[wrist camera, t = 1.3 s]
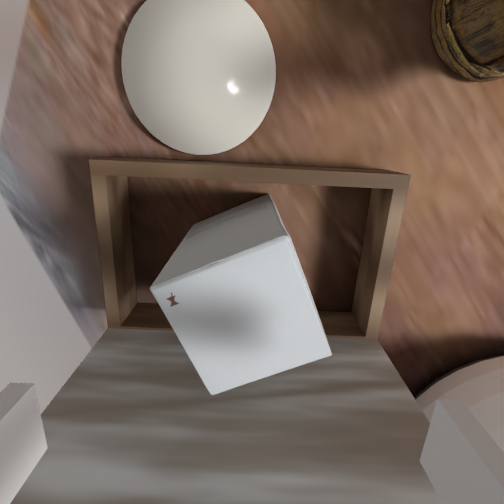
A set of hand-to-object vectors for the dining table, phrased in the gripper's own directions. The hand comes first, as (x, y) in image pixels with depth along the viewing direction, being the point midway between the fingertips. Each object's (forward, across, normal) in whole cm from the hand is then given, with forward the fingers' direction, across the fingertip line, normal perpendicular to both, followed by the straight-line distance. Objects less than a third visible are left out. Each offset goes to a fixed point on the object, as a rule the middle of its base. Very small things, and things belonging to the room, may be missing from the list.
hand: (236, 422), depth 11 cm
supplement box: (+18, 0, 0) cm, 19 cm away
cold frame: (+18, 0, 0) cm, 18 cm away
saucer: (+18, -4, +13) cm, 23 cm away
